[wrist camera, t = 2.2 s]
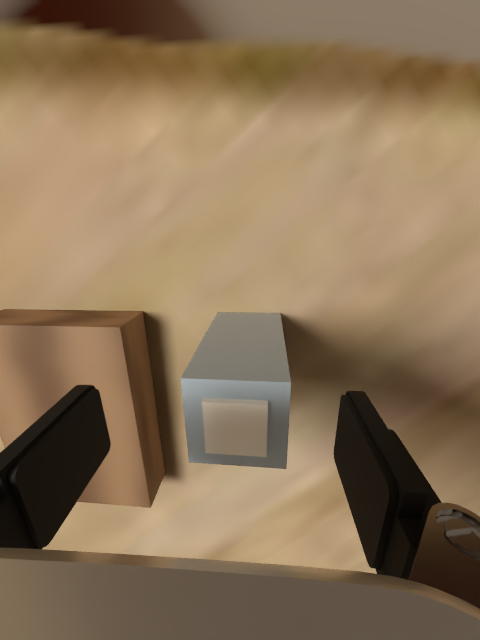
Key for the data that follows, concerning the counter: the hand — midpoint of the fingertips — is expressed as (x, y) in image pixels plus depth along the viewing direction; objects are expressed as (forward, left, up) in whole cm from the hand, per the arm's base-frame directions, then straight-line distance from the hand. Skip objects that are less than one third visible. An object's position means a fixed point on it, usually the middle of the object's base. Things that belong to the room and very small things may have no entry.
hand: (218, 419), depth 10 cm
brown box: (+11, +5, -8) cm, 15 cm away
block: (-1, 0, -8) cm, 8 cm away
